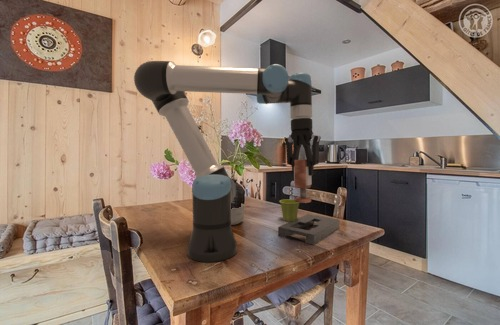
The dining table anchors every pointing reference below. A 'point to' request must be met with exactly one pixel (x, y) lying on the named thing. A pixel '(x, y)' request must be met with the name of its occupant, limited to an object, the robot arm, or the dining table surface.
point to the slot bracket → (313, 236)
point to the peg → (301, 180)
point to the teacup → (237, 215)
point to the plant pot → (289, 209)
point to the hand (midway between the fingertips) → (302, 184)
